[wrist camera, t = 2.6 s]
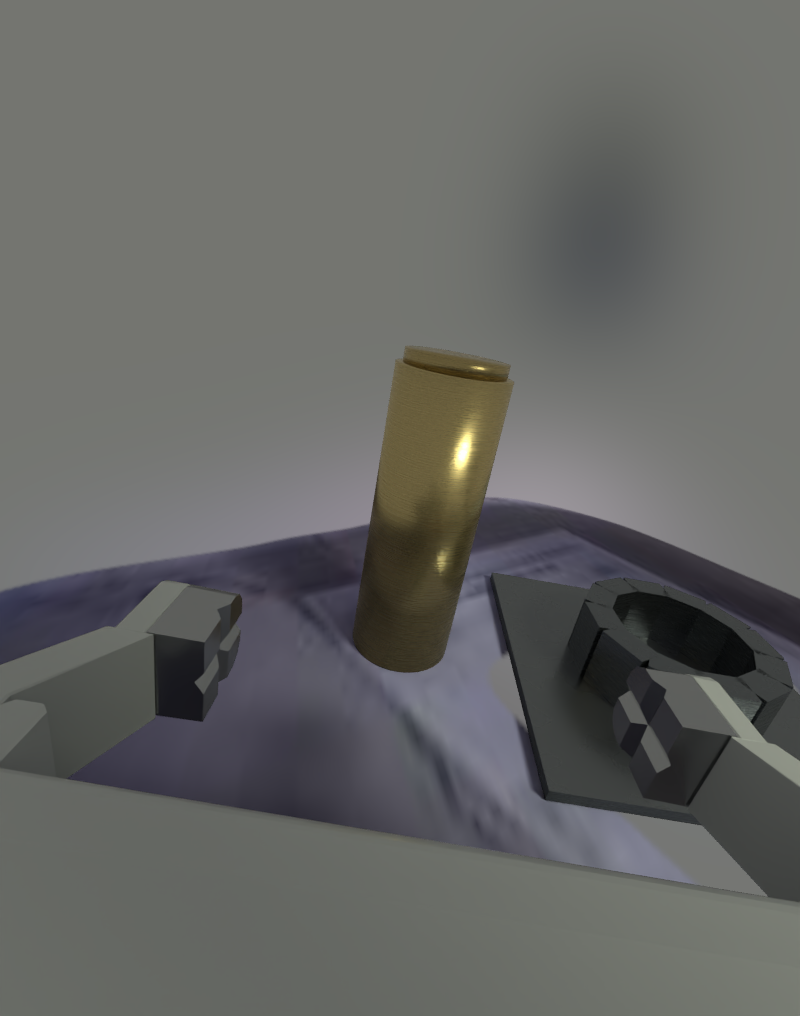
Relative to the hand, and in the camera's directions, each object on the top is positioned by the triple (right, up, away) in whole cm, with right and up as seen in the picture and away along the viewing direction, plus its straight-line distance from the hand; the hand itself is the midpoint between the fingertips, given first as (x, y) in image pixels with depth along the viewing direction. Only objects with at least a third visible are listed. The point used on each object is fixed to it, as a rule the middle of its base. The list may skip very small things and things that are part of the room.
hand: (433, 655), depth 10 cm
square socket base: (+13, -6, +16) cm, 21 cm away
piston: (-1, -4, +15) cm, 16 cm away
